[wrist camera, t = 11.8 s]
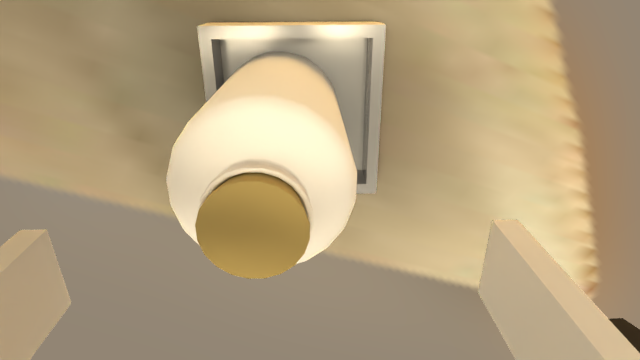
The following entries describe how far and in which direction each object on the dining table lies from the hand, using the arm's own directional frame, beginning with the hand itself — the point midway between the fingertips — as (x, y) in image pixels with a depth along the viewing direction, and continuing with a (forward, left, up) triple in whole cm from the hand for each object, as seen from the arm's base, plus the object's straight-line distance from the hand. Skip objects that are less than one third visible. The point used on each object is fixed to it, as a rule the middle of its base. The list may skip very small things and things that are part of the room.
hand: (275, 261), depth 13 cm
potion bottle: (0, -1, -20) cm, 20 cm away
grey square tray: (0, 0, -21) cm, 21 cm away
